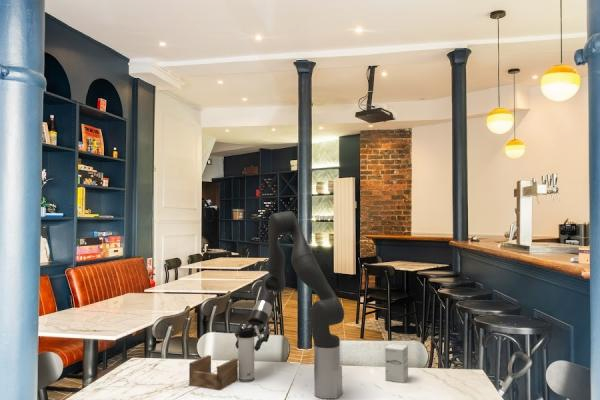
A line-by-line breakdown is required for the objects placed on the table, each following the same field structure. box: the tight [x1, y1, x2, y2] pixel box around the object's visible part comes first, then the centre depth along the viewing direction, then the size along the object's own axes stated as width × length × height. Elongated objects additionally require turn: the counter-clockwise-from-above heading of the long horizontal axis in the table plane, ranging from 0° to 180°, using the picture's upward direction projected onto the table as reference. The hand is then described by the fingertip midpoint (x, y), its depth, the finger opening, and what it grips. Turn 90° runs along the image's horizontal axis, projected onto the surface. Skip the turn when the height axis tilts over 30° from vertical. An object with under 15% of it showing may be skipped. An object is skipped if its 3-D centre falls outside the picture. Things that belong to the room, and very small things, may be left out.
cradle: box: [188, 354, 239, 391], centre depth 177 cm, size 14×12×8 cm
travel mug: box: [237, 328, 255, 383], centre depth 181 cm, size 6×7×20 cm
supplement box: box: [384, 343, 409, 384], centre depth 179 cm, size 7×7×13 cm
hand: (246, 348), depth 181 cm, fingers open, 8 cm apart
